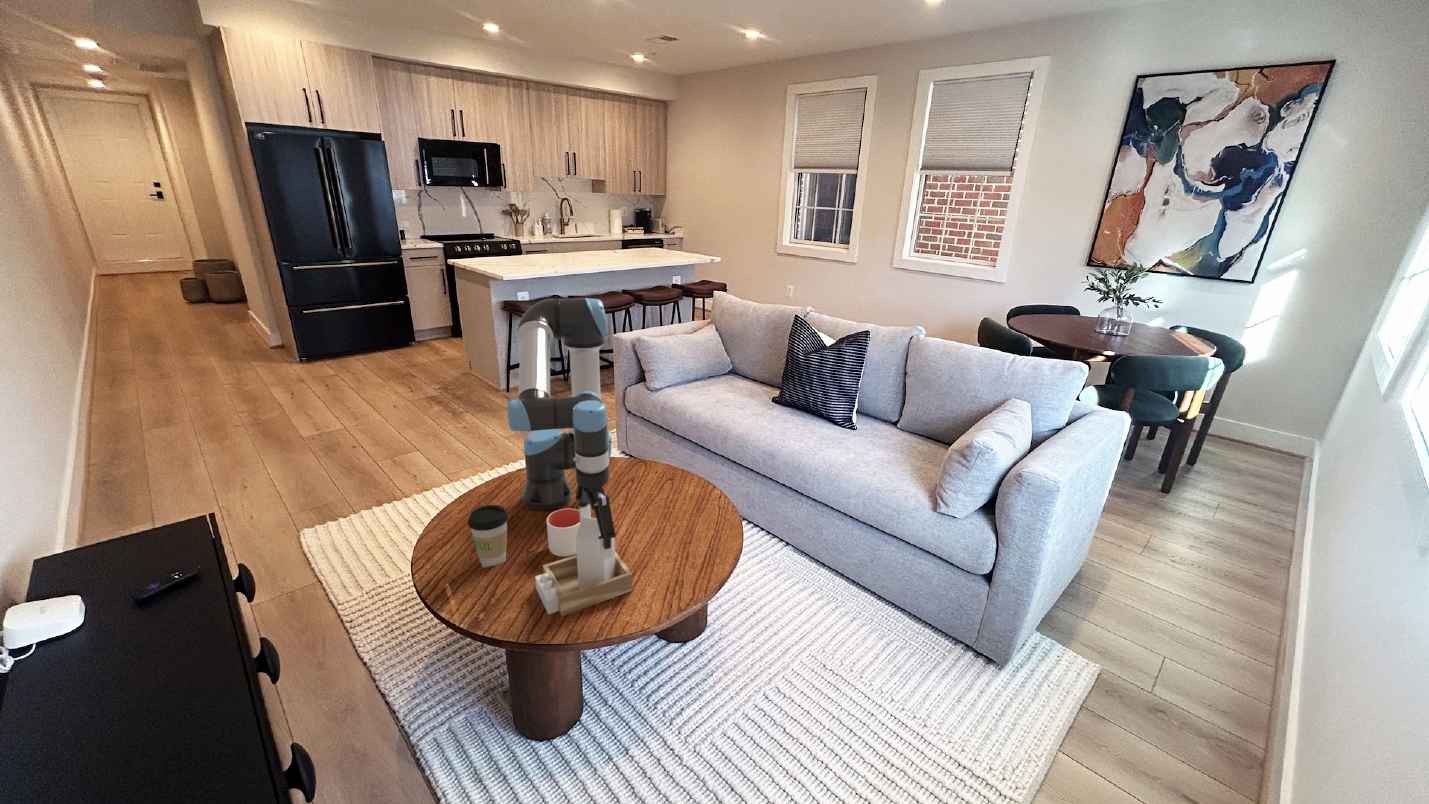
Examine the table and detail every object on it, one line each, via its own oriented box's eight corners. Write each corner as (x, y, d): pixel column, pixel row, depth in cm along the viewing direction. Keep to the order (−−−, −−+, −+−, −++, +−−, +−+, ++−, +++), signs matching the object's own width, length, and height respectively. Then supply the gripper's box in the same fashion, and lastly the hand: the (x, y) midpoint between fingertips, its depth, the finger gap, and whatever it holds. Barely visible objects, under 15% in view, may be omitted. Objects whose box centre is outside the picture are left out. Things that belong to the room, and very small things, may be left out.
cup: (592, 542, 158) (591, 512, 154) (573, 563, 149) (571, 531, 145) (562, 535, 161) (560, 505, 157) (541, 554, 152) (538, 523, 148)
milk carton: (605, 594, 136) (602, 528, 130) (578, 589, 138) (574, 524, 131) (615, 576, 143) (614, 513, 136) (590, 571, 144) (587, 508, 137)
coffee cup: (473, 554, 151) (466, 507, 145) (511, 547, 154) (506, 500, 149) (474, 576, 142) (467, 527, 137) (514, 568, 146) (509, 519, 141)
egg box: (536, 589, 137) (534, 572, 135) (552, 584, 139) (551, 567, 137) (548, 614, 129) (546, 596, 127) (565, 608, 131) (563, 590, 129)
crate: (544, 585, 140) (542, 565, 138) (611, 563, 149) (610, 544, 147) (561, 619, 129) (560, 598, 127) (632, 593, 139) (632, 574, 136)
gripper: (559, 448, 136) (564, 521, 144) (596, 495, 117) (600, 576, 125) (588, 442, 140) (592, 513, 148) (629, 486, 121) (630, 566, 129)
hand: (595, 542), depth 136 cm, fingers open, 13 cm apart
